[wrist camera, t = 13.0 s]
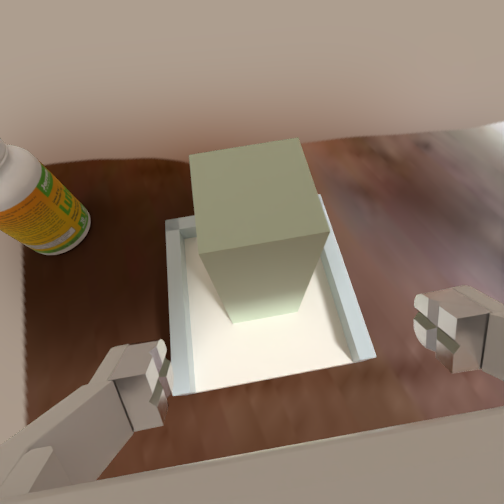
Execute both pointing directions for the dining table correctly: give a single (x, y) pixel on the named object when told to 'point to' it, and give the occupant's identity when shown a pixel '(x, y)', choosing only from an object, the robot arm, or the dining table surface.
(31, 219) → the supplement bottle
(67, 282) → the dining table surface
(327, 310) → the holder
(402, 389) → the dining table surface
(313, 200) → the green block
